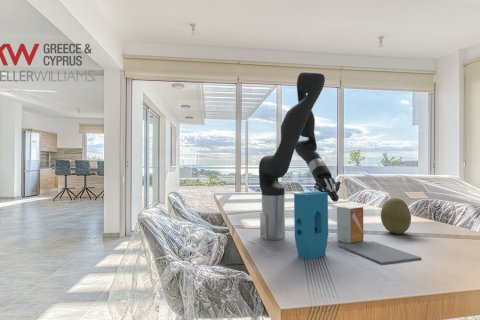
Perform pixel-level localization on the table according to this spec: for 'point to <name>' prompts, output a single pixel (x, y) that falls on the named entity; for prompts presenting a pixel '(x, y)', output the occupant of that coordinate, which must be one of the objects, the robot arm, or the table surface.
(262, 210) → the robot arm
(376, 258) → the mat
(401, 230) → the fruit
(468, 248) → the table surface
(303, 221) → the block
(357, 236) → the small box
